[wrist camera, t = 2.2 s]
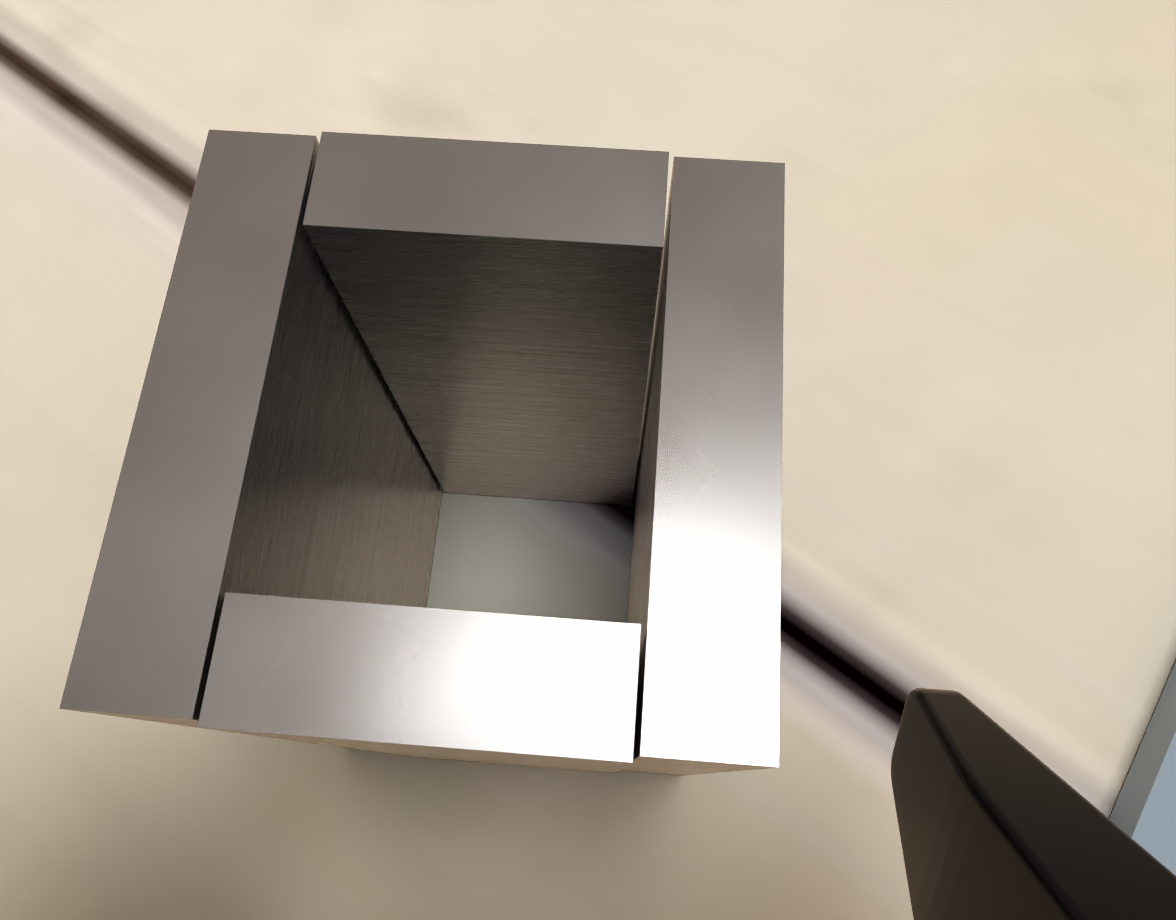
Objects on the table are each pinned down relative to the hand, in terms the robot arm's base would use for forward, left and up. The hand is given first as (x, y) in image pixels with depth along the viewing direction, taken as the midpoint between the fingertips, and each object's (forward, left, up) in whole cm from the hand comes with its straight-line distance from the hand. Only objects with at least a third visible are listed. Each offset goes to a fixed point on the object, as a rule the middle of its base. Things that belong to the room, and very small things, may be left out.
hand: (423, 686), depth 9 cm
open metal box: (+2, +2, -10) cm, 10 cm away
